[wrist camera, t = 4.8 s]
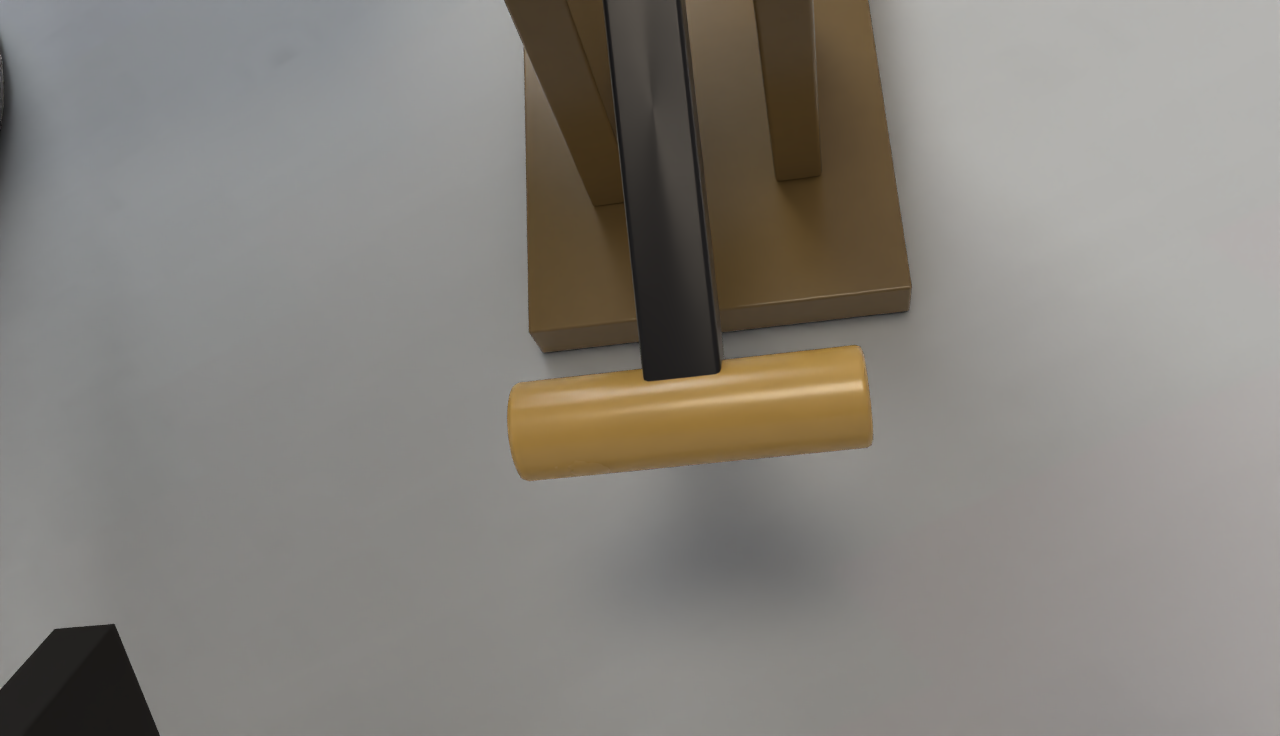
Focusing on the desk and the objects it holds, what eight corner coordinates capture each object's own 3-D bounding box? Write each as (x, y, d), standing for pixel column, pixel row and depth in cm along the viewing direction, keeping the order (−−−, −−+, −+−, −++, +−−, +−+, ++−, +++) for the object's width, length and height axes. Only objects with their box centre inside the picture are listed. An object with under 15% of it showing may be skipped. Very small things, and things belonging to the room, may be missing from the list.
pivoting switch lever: (868, 443, 17) (878, 452, 15) (542, 475, 18) (502, 489, 16) (779, -350, 18) (775, -465, 15) (463, -288, 18) (412, -389, 16)
